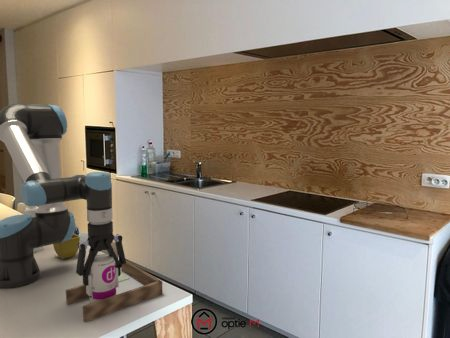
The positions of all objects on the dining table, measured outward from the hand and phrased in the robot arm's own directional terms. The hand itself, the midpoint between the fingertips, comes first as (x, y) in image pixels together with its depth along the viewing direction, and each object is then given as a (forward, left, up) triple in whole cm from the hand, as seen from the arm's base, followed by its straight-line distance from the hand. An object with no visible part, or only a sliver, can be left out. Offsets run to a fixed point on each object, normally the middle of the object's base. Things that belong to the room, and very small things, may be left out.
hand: (102, 289), depth 118 cm
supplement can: (0, 0, -4) cm, 4 cm away
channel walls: (+4, +6, -4) cm, 8 cm away
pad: (+10, +15, -4) cm, 19 cm away
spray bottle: (-2, +68, -4) cm, 68 cm away
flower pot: (+6, +50, -5) cm, 51 cm away
